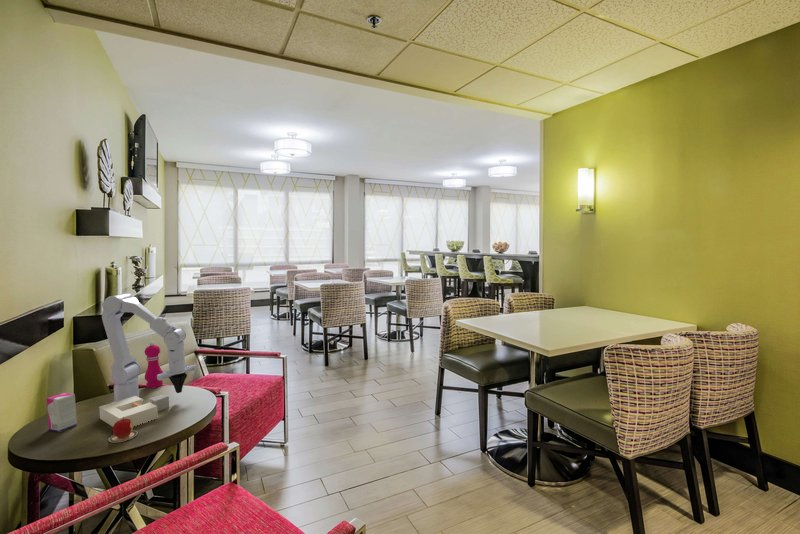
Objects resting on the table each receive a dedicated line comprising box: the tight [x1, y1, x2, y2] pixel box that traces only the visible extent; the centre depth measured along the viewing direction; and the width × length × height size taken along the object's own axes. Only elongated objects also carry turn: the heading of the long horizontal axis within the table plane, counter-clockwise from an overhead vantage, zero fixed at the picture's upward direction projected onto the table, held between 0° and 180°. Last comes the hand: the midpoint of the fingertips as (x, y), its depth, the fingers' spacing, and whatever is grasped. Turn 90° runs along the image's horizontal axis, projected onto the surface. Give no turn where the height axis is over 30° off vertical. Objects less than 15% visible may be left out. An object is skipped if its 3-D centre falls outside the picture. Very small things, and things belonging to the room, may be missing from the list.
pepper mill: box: [144, 341, 164, 389], centre depth 179 cm, size 7×7×20 cm
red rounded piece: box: [108, 417, 139, 444], centre depth 132 cm, size 8×8×6 cm
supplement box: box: [46, 392, 78, 433], centre depth 140 cm, size 6×6×12 cm
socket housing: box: [98, 396, 159, 428], centre depth 147 cm, size 18×12×5 cm, turn 55°
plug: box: [148, 394, 170, 412], centre depth 155 cm, size 4×6×4 cm
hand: (178, 392), depth 161 cm, fingers closed
